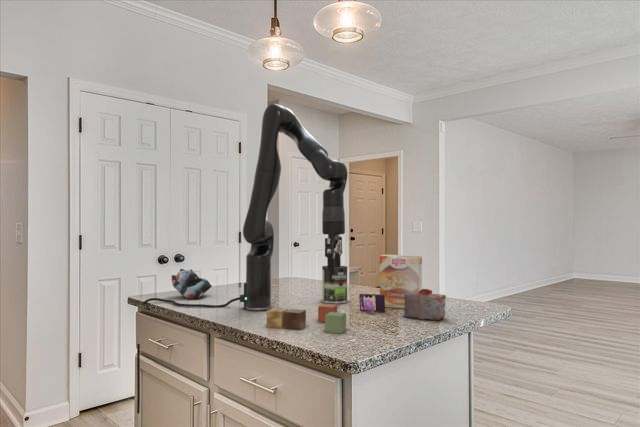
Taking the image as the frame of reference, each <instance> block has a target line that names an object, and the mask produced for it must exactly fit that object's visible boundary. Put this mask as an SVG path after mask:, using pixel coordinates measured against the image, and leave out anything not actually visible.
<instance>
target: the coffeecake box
mask: <svg viewBox="0 0 640 427" xmlns="http://www.w3.org/2000/svg"><path fill="white" fill-rule="evenodd" d="M422 289H423V256H422V255H409V254H408V255H406V254H380V255H379V295H385V308H392V309H404V310H405V299H404V295H405V293H407V292H408V291H412V292H419V291H420V290H422Z"/></svg>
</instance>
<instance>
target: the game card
mask: <svg viewBox="0 0 640 427" xmlns="http://www.w3.org/2000/svg"><path fill="white" fill-rule="evenodd" d="M373 297H374V303H375V306H374V304H373V301H371V300H370V299H372V298H373ZM358 298H359V311H362V312H371V313H372V314H374V313H375V312H378V313H386V307H385V295H380V293H378V294H377V293H359V295H358ZM368 298H369V299H368ZM364 299H365V300H364Z"/></svg>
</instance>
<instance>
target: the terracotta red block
mask: <svg viewBox="0 0 640 427" xmlns="http://www.w3.org/2000/svg"><path fill="white" fill-rule="evenodd" d="M330 312H338V304H332V303H322V304H320V305H318V306H317V322H319V323H325V315H326V314H328V313H330Z"/></svg>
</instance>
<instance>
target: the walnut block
mask: <svg viewBox="0 0 640 427" xmlns="http://www.w3.org/2000/svg"><path fill="white" fill-rule="evenodd" d="M306 314H307V310H306V309H297V308H290V309H288V311H286V312H285V326H284V329H287V330H296V331H297V330H298V331H300V330H302V329H304V328H306V326H307V315H306Z"/></svg>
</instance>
